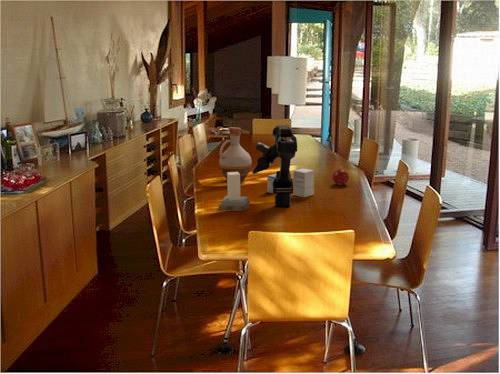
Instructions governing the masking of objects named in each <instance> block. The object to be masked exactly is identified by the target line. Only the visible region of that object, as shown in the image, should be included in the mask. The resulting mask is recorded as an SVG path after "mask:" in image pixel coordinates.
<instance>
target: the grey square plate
mask: <svg viewBox="0 0 500 374" xmlns="http://www.w3.org/2000/svg"><path fill="white" fill-rule="evenodd" d="M250 204H251V201H250V200H248V199H247V202H246V203H245V205H244V206H243V207H241V206H221V203H220V204H219V205H218V206H217V207H218V208H217V209H218V211H231V212H232V211H233V212H245V211H246V210H247V209H248V207H249V206H250Z"/></svg>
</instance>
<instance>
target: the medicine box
mask: <svg viewBox="0 0 500 374" xmlns="http://www.w3.org/2000/svg"><path fill="white" fill-rule="evenodd" d="M275 178H276V173H274V174H273V173H272V174H270V175H267V193H269V194H274V193H273V181H274V179H275Z"/></svg>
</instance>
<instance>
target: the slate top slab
mask: <svg viewBox="0 0 500 374" xmlns="http://www.w3.org/2000/svg"><path fill="white" fill-rule="evenodd" d="M247 200H248V196H242V195H240V200H233V201H230V200H229V199H228V195H225V196H224V197H223V199H222V200H221V202H220V204H221V206H241V207H243V206H244V205H245V203H246V202H247Z"/></svg>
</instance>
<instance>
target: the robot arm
mask: <svg viewBox="0 0 500 374" xmlns="http://www.w3.org/2000/svg"><path fill="white" fill-rule="evenodd" d="M292 130H293V129H292V128H291V127H290V125H289V124H282V125H281V124H278V125H275V126H274V127H273V130H272V132H271V134H272V135H271V136H272V137H273V138H274V143H273V144H272V145H271V146H268V145H266V144H264V143H263V142H260V141H259V142H257V144H256V146H255V148H254V150H255V151H259V152H261V153H263V154H262V155H261V156H259V157H258V158H257V159H256V161H257V165H256V166H255V167H254V169H253V171H252V172H251V173H252V174H253V175H255V174H258V173H260V172H263V171H266V170H267V169H269V168H270V167H271V165H272V164H273V163H274V162H275V161H276V160H277V159H278V158H279V159H280V164H279V166H280V167H279V170H277V171H276V173H275V174H276V178H275V179H274V181H273V193H272V194H275V195H274V204H275V207H277V208H290V207H291V205H292V202H291V199H292V195H291V194H294V180H293V178H292V174H291V170H290V169H291V162H292V161H291V160H292V159H293V158H295V157H296V153H297V152H298V141H297V140H298V139H297V137H296V136H295V135H294V133H293V131H292ZM288 138H289V139H290V140H288Z"/></svg>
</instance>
